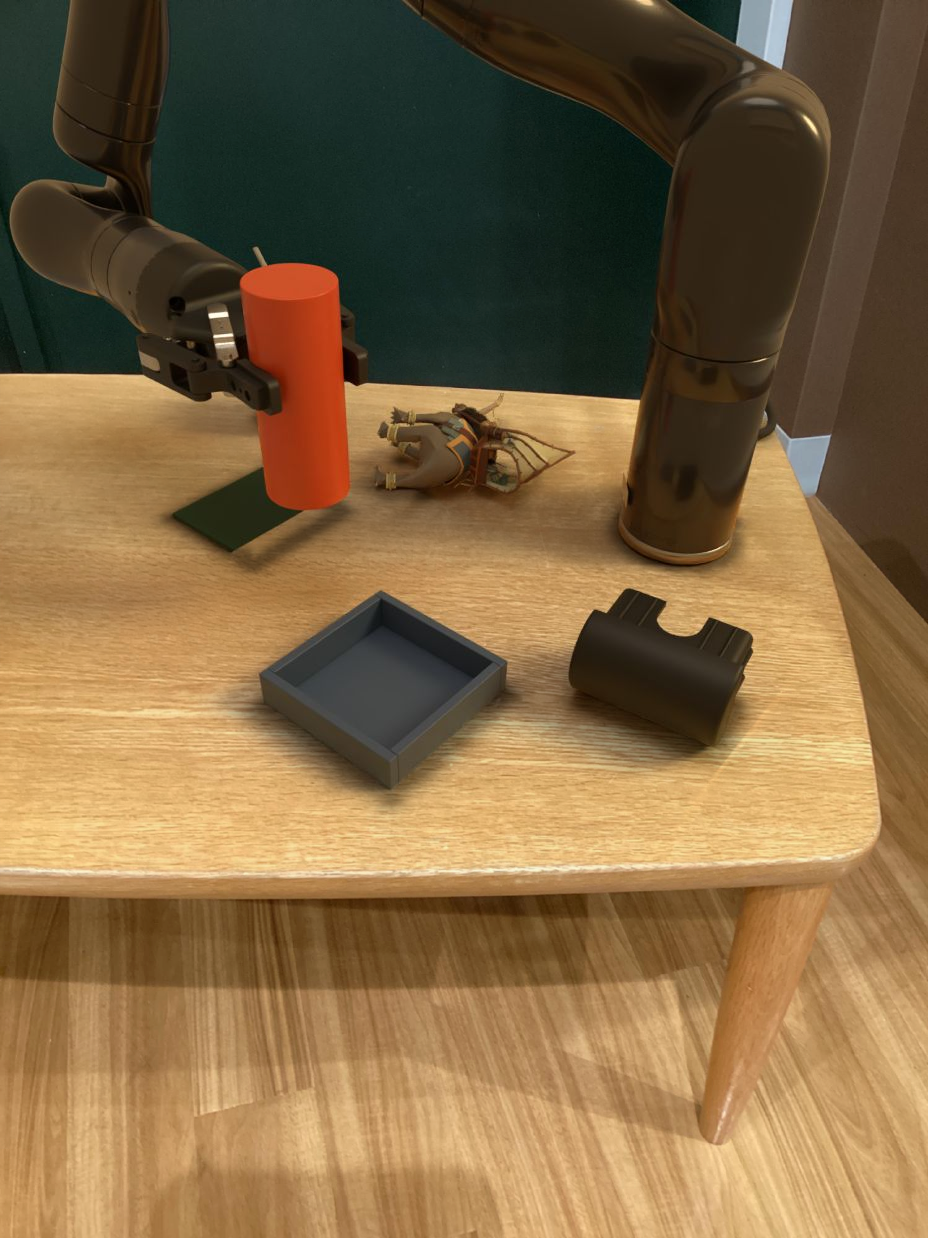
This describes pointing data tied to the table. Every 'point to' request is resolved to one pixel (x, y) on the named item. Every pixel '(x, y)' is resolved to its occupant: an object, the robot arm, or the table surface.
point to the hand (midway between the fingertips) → (320, 384)
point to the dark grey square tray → (384, 686)
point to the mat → (236, 512)
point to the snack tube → (300, 382)
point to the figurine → (464, 450)
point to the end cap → (661, 666)
